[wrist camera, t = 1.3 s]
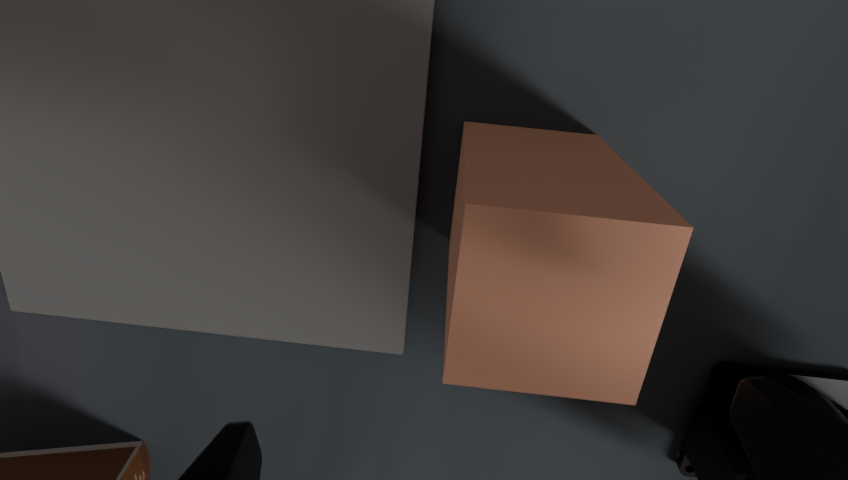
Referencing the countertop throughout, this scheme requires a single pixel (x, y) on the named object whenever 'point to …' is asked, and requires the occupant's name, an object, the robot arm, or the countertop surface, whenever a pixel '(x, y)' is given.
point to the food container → (79, 463)
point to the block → (556, 266)
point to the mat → (214, 164)
